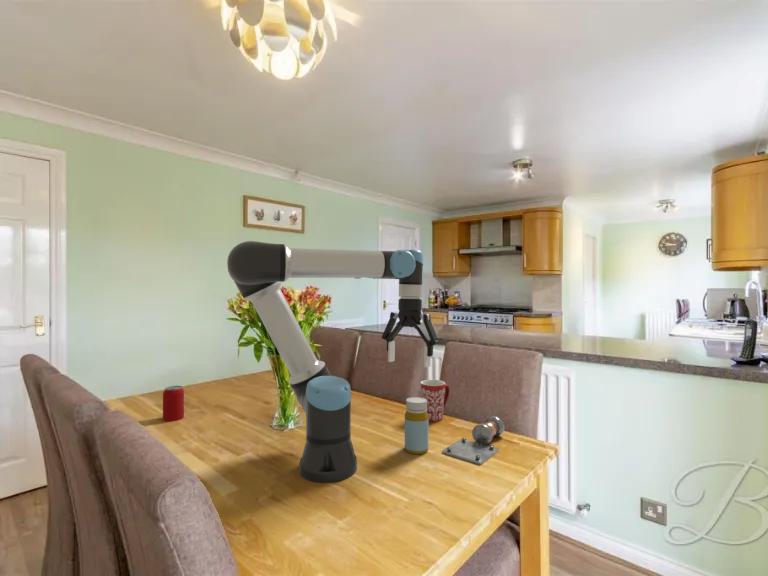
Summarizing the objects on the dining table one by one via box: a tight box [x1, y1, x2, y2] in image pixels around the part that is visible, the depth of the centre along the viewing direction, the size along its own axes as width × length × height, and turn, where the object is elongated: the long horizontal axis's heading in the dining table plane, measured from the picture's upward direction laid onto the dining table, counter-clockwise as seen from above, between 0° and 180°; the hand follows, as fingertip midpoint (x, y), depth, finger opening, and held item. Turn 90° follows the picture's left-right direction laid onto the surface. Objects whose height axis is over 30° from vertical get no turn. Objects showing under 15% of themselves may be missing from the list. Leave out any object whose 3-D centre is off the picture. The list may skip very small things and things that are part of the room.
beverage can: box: [162, 385, 185, 423], centre depth 143 cm, size 7×7×12 cm
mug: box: [420, 379, 450, 422], centre depth 147 cm, size 13×9×14 cm
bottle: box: [404, 396, 429, 455], centre depth 117 cm, size 7×7×15 cm
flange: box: [441, 415, 506, 466], centre depth 121 cm, size 24×12×6 cm, turn 141°
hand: (408, 364), depth 128 cm, fingers open, 13 cm apart
